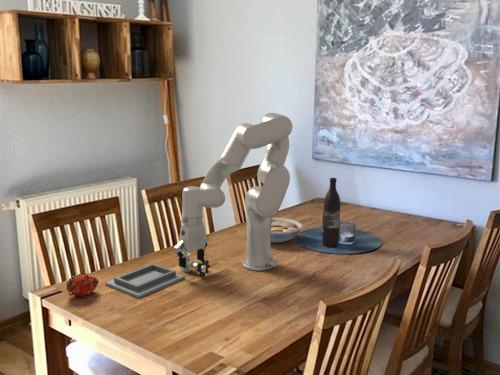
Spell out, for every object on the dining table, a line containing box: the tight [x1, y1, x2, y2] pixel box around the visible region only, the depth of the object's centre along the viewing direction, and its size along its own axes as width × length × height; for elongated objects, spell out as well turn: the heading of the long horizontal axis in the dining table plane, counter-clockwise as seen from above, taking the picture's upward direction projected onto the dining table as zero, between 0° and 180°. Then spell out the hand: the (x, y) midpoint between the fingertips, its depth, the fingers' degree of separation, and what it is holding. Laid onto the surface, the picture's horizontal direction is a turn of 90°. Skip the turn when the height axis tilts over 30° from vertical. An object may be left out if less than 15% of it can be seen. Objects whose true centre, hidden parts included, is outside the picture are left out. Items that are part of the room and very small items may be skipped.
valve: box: [180, 252, 211, 278], centre depth 206 cm, size 7×7×12 cm
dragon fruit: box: [65, 273, 99, 298], centre depth 186 cm, size 8×8×12 cm
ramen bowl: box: [271, 217, 303, 244], centre depth 244 cm, size 25×23×8 cm
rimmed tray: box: [104, 263, 186, 299], centre depth 198 cm, size 18×22×3 cm
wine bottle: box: [321, 177, 341, 248], centre depth 236 cm, size 7×7×30 cm
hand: (191, 263), depth 205 cm, fingers open, 9 cm apart
